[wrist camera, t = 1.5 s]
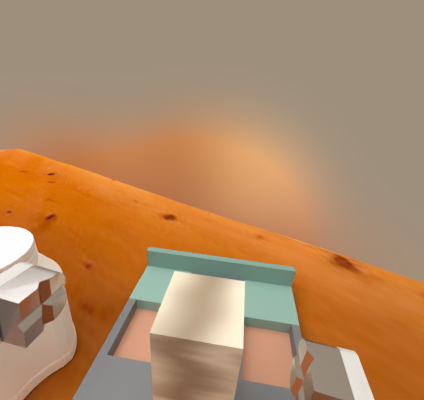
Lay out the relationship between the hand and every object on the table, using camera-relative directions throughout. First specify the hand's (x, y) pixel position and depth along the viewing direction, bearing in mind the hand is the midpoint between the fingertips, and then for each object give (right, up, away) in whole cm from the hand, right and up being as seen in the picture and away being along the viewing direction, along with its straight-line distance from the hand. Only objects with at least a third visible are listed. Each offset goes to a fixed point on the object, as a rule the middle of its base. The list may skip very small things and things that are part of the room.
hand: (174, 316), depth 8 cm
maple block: (0, -16, +16) cm, 22 cm away
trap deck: (+1, -14, +24) cm, 28 cm away
